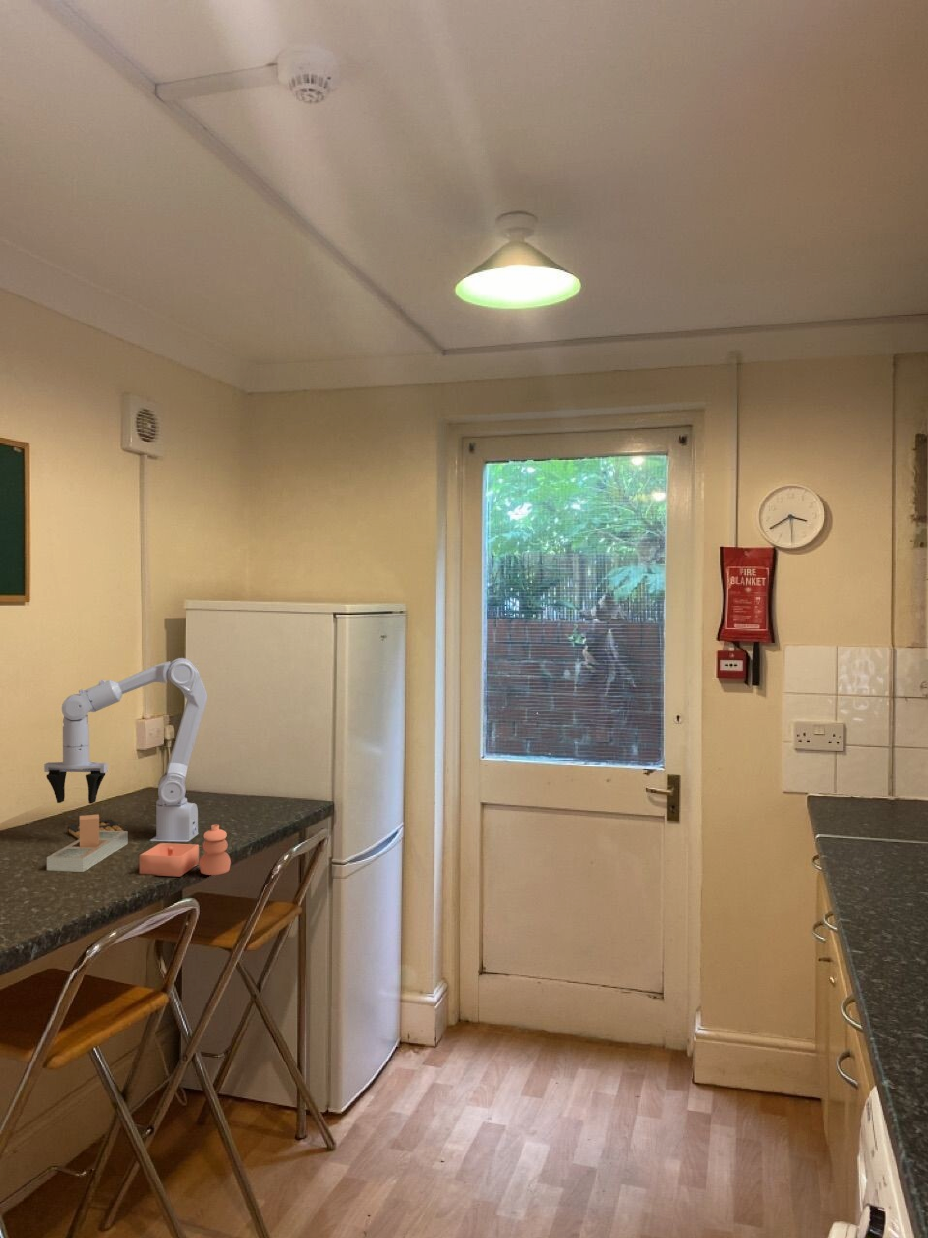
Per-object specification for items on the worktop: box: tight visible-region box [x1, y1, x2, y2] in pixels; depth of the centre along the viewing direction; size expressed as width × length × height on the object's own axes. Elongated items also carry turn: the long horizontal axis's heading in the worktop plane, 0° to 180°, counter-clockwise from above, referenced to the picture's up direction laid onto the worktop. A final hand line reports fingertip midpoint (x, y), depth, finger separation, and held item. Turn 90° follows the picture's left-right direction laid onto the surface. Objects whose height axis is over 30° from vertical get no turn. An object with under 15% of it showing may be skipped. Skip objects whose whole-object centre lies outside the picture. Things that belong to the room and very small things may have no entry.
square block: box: [79, 814, 100, 847], centre depth 203 cm, size 4×4×9 cm
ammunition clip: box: [67, 819, 124, 840], centre depth 221 cm, size 11×2×12 cm
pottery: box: [139, 824, 232, 877], centre depth 194 cm, size 18×10×10 cm, turn 83°
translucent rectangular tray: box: [46, 830, 129, 873], centre depth 203 cm, size 22×8×3 cm, turn 177°
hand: (76, 802), depth 213 cm, fingers open, 7 cm apart
